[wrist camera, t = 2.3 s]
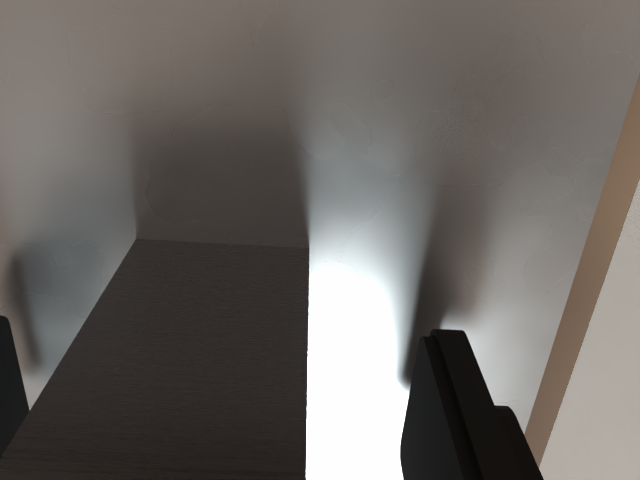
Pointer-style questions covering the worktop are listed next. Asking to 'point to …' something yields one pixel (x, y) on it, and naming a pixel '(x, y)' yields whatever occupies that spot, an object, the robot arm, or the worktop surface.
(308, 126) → the cover plate
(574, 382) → the worktop surface
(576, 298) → the walnut box
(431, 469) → the robot arm
